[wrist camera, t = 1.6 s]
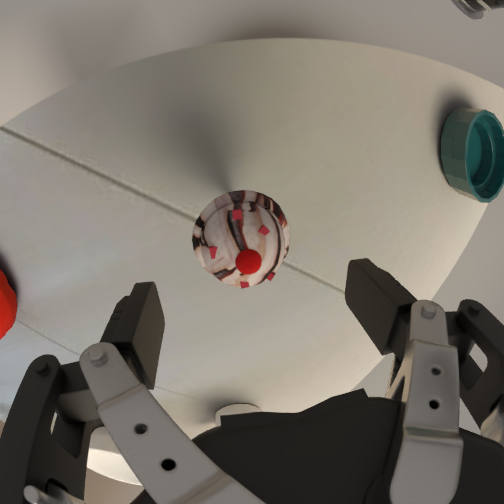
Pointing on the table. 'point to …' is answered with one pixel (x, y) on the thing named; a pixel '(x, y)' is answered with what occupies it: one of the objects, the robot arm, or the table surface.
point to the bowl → (108, 458)
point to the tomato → (6, 305)
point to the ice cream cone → (241, 238)
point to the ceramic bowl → (473, 153)
